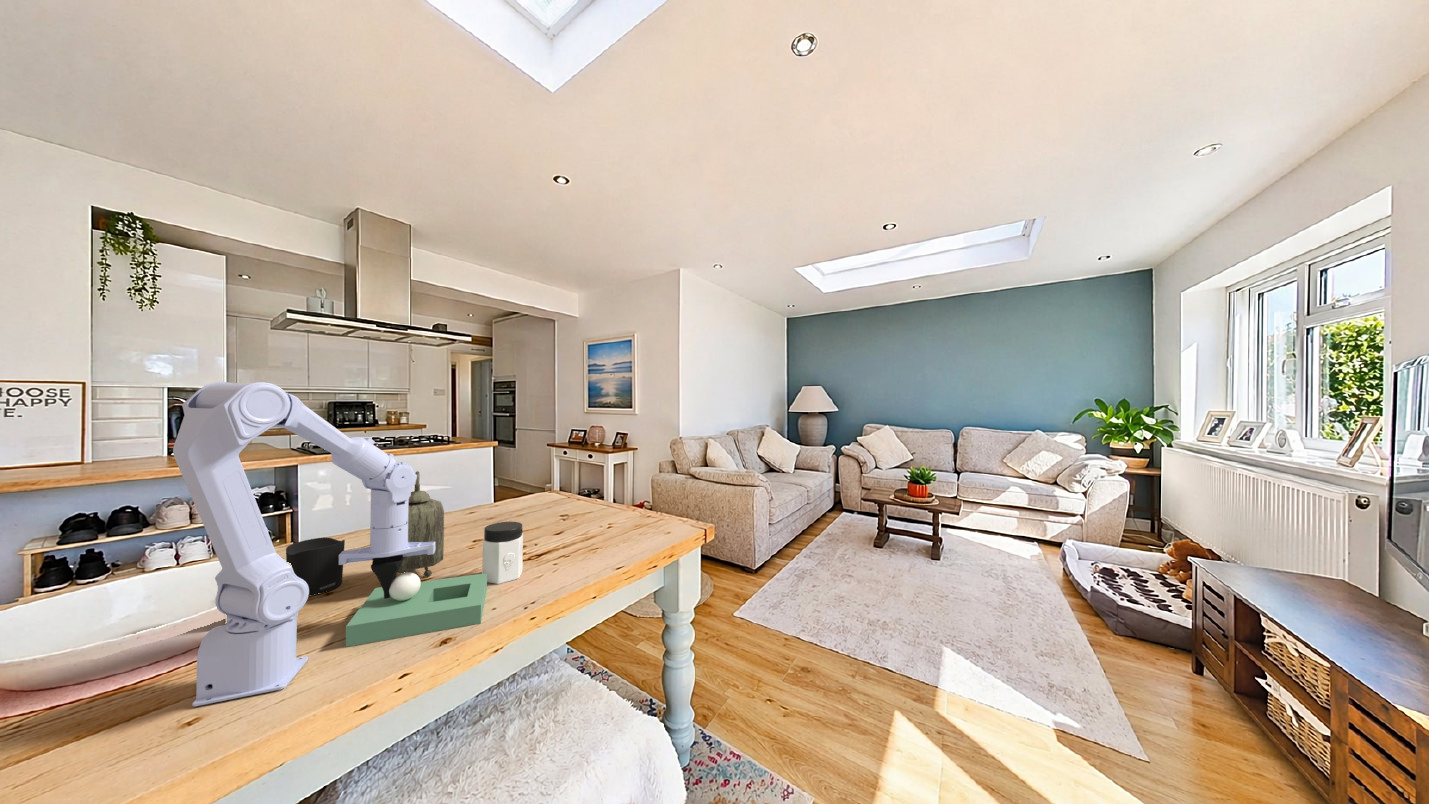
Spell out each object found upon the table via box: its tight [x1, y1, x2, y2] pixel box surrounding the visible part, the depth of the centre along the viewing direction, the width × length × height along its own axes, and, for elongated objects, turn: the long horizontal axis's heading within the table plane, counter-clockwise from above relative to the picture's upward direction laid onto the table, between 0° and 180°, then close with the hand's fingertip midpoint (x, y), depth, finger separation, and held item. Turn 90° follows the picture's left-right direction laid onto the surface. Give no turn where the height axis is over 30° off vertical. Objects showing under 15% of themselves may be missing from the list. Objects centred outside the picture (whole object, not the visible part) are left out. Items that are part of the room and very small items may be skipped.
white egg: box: [389, 571, 422, 601], centre depth 82 cm, size 5×5×5 cm
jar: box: [481, 521, 524, 585], centre depth 102 cm, size 9×8×12 cm
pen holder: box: [285, 536, 346, 596], centre depth 94 cm, size 9×9×10 cm
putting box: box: [345, 573, 488, 648], centre depth 83 cm, size 20×16×4 cm
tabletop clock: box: [397, 471, 445, 578], centre depth 100 cm, size 14×9×25 cm, turn 37°
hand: (388, 596), depth 81 cm, fingers closed, pressing on white egg
